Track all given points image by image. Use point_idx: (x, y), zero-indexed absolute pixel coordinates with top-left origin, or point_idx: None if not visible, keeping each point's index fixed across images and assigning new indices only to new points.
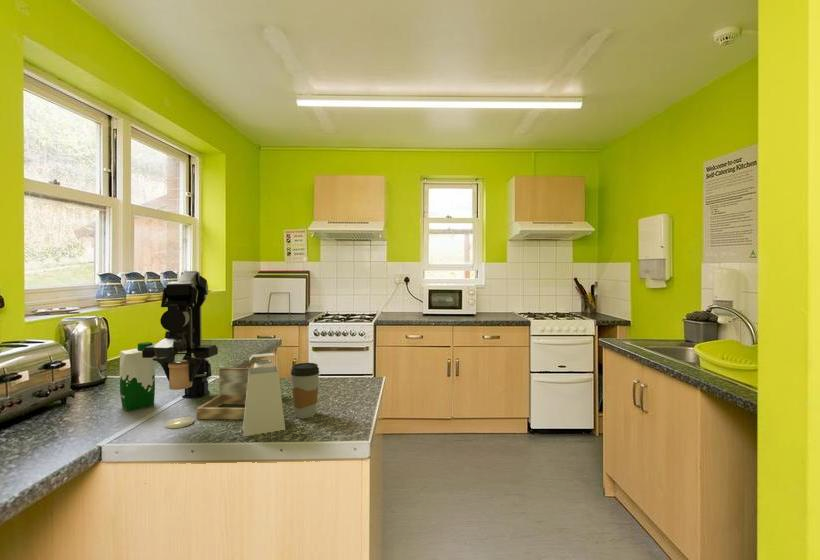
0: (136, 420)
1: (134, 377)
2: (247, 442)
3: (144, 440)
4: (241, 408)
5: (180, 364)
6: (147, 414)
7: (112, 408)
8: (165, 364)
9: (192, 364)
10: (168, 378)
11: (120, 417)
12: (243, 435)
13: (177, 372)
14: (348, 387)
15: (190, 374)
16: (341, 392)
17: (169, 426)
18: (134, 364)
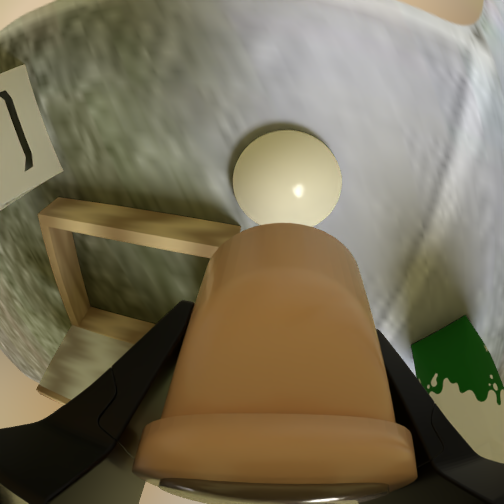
0: (445, 247)
1: (483, 401)
2: (10, 32)
3: (358, 27)
4: (63, 223)
5: (203, 473)
6: (422, 291)
7: (487, 333)
8: (437, 462)
9: (68, 428)
10: (385, 347)
11: (479, 278)
12: (25, 69)
13: (272, 358)
14: (17, 347)
15: (156, 346)
16: (9, 328)
17: (311, 136)
18: (493, 439)
